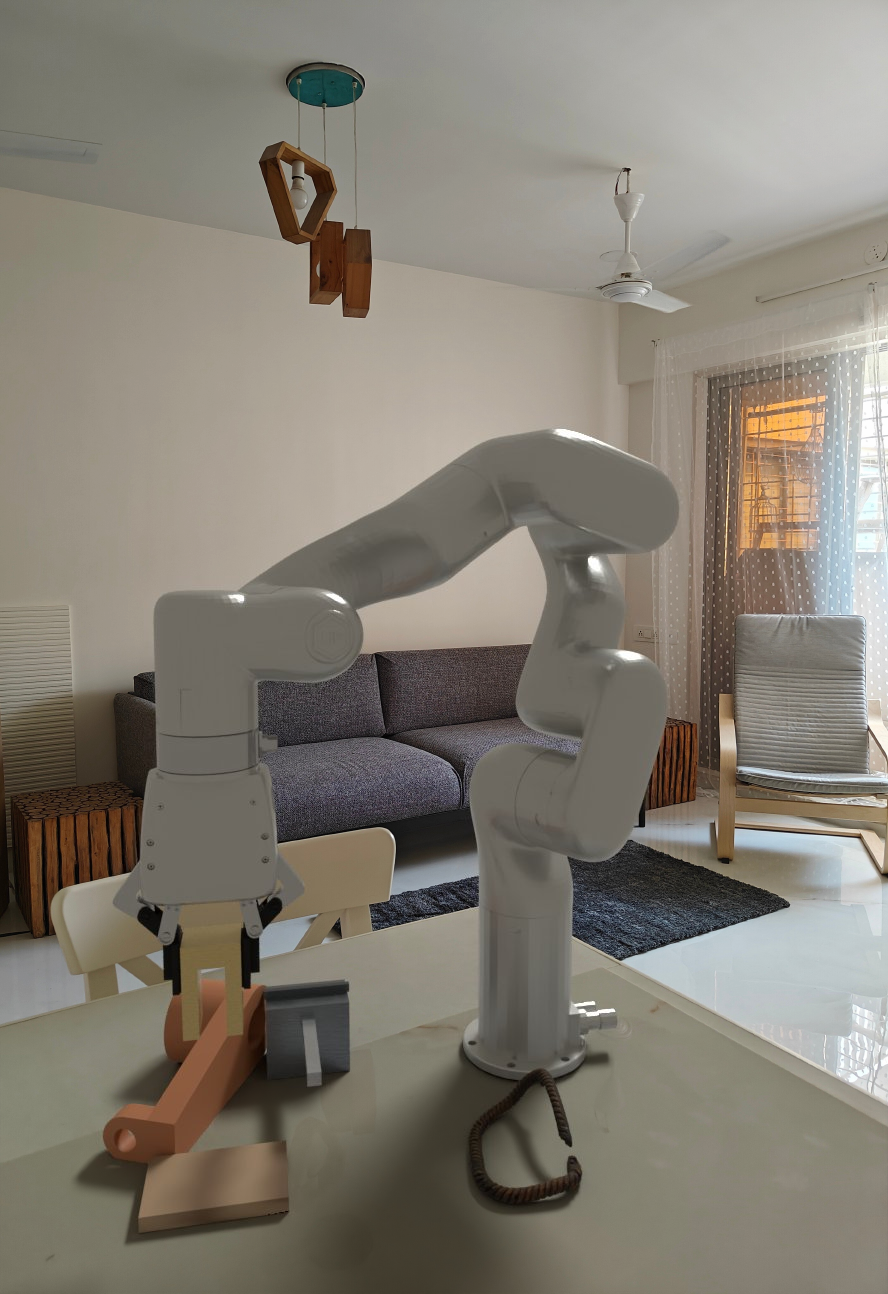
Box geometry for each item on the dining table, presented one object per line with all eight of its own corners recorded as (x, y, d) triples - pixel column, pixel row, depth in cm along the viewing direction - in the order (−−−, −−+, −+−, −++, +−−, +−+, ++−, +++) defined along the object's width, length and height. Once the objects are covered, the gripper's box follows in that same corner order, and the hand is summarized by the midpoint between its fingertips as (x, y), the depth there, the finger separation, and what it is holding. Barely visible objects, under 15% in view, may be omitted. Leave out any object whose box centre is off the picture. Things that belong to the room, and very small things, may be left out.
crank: (204, 1036, 95) (202, 964, 94) (273, 1045, 93) (272, 971, 92) (90, 1156, 75) (86, 1066, 75) (175, 1170, 74) (173, 1078, 73)
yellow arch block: (243, 1009, 72) (241, 922, 71) (243, 1034, 68) (240, 942, 67) (187, 1015, 71) (184, 927, 70) (183, 1041, 67) (180, 948, 66)
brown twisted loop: (577, 1173, 67) (448, 1148, 69) (575, 1235, 68) (448, 1208, 70) (593, 1063, 80) (484, 1046, 82) (591, 1117, 81) (483, 1098, 83)
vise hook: (346, 1038, 94) (345, 967, 93) (363, 1132, 78) (362, 1047, 77) (264, 1047, 92) (263, 974, 91) (265, 1145, 76) (264, 1057, 76)
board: (286, 1153, 75) (286, 1140, 75) (289, 1211, 68) (288, 1196, 68) (150, 1171, 73) (149, 1157, 73) (138, 1233, 66) (138, 1217, 66)
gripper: (317, 739, 73) (319, 955, 75) (99, 747, 70) (106, 972, 71) (323, 758, 66) (325, 996, 67) (80, 767, 62) (88, 1018, 64)
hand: (212, 982), depth 69 cm, fingers closed on yellow arch block, 4 cm apart
